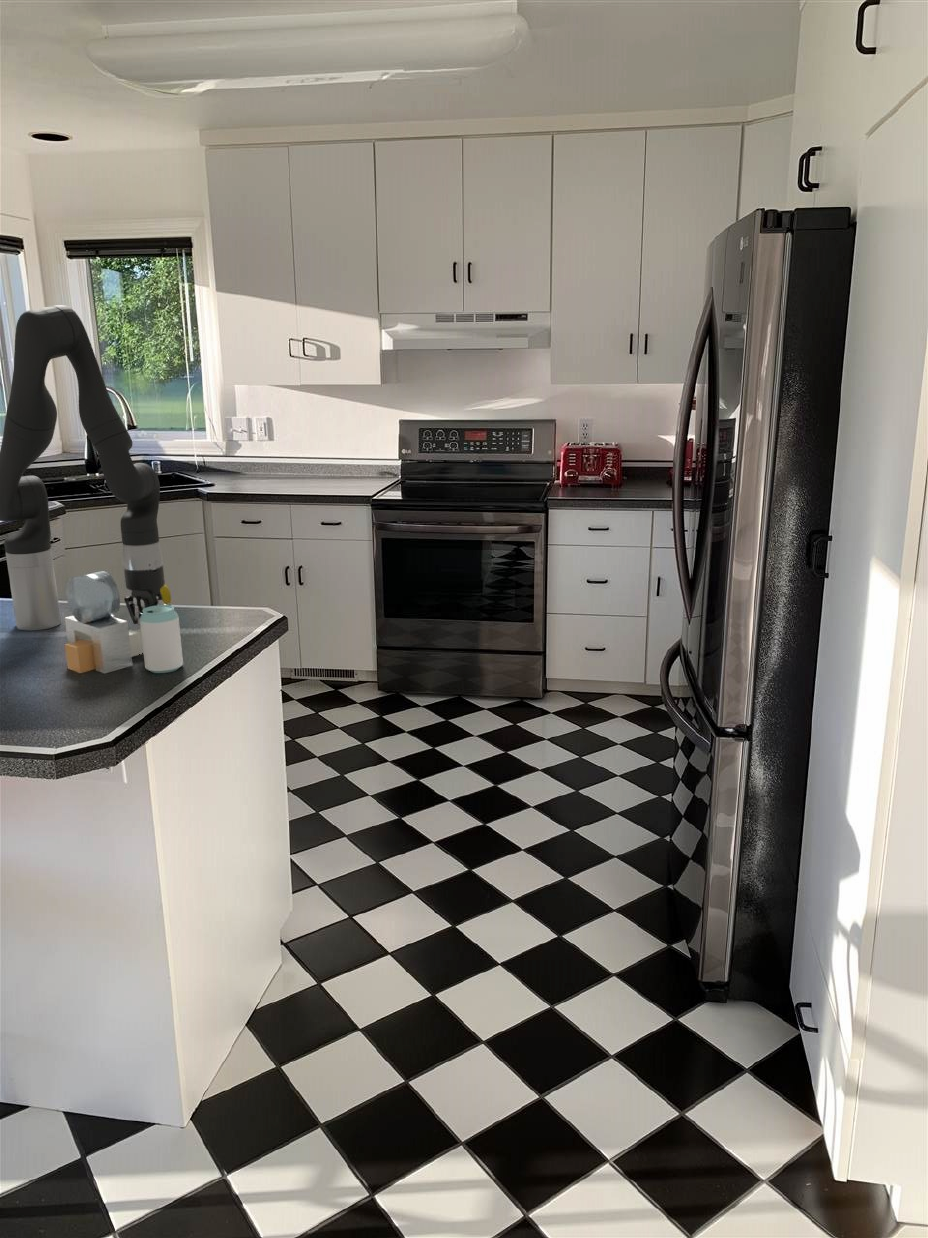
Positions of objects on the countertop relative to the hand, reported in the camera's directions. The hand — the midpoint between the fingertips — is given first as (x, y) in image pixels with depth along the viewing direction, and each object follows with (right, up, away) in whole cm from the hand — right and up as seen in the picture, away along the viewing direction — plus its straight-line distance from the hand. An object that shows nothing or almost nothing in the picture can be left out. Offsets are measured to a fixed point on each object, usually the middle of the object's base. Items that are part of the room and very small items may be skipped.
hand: (152, 646), depth 199 cm
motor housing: (-7, -3, -9) cm, 12 cm away
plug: (-5, -2, -5) cm, 8 cm away
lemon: (-6, +7, +26) cm, 27 cm away
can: (+6, -4, -12) cm, 14 cm away
